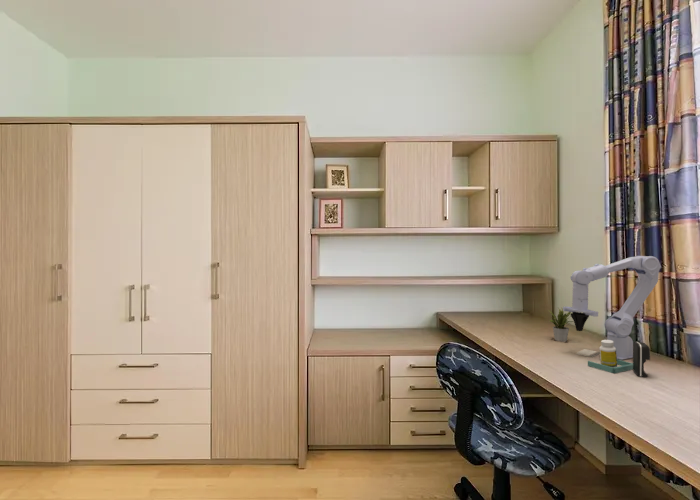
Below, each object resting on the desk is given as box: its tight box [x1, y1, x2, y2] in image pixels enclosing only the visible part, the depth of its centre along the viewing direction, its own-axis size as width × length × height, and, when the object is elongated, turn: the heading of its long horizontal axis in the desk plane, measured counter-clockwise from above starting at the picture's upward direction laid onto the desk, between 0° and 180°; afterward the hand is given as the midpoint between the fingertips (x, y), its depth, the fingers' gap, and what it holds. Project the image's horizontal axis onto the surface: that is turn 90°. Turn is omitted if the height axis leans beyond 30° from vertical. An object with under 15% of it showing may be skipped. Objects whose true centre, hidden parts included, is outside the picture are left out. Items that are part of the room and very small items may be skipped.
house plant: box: [547, 307, 574, 342], centre depth 191 cm, size 14×14×16 cm
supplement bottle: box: [598, 339, 618, 368], centre depth 150 cm, size 5×5×10 cm
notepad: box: [575, 348, 600, 358], centre depth 168 cm, size 9×6×1 cm, turn 129°
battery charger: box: [632, 341, 651, 378], centre depth 141 cm, size 7×4×11 cm, turn 157°
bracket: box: [587, 359, 633, 374], centre depth 149 cm, size 13×10×2 cm
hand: (579, 330), depth 166 cm, fingers closed
